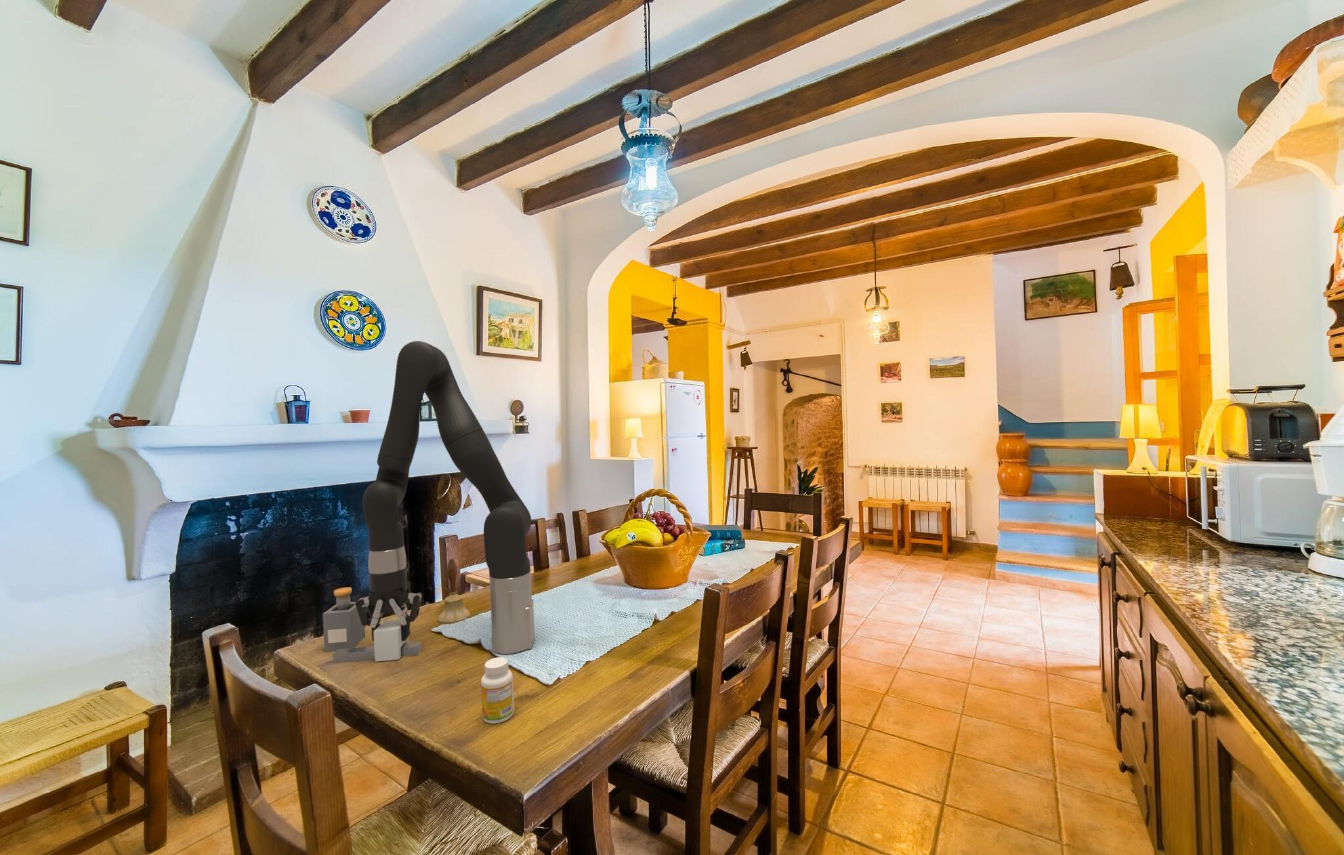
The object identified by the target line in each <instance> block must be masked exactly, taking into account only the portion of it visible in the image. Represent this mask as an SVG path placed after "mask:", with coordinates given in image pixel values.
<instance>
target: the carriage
mask: <svg viewBox="0 0 1344 855" xmlns="http://www.w3.org/2000/svg"><path fill="white" fill-rule="evenodd" d="M380 624H381V625H380V626H379V627H378V628H377V629H376V630H375V631H374V641H373V643H374V644H373V646H374V650H375V659H374V662H385V661H395V660H397V661H398V660H400V659H401V647H402V645H403V644H404V643H409V637H408V638H407V639H406V640H405V641H402V640H401V625H402V624H401V622H400V620H399V619H392V620H384V621H383V622H382V623H380Z"/></svg>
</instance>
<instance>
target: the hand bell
mask: <svg viewBox="0 0 1344 855" xmlns="http://www.w3.org/2000/svg"><path fill="white" fill-rule="evenodd" d="M446 575H447V578H448V581H449V595H448V596H447V597H445V598H444V604H443V608H442V611H441V613H440V614H439V615H438V616H437V622H439V623H443V624H451V623H452V624H453V623H457V622H461V621H465V620H466V619H468V618H470V616H471V612H470V610H468V609H467V608H466V606H465V604H464V599H463V596H462V595H460V594H458V592H457V589H458V588H457V577H458V566H457V563H456V560H455V558H449V559H448V564H447V567H446Z"/></svg>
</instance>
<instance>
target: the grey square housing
mask: <svg viewBox="0 0 1344 855" xmlns="http://www.w3.org/2000/svg"><path fill="white" fill-rule="evenodd" d="M355 602H356V601H350V606H351V608H350V609H349V610H338V611H337V603H336V604H334V605H333V606H331V607H330V608H329V609H328V610H326V611H325V612H323V613H322V625H323V628H322V629H323V643H324V644H323V645H324V647H323V648H324V653H326V652H336V651H337V650H338V649H348V648H356V646H357V645H358V644H360V642H361V641H362V640H364V638H366V626H363V625H362V624H361V620H360V617H359V614H358V611H357V608H356V604H355Z"/></svg>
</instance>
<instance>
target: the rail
mask: <svg viewBox="0 0 1344 855" xmlns="http://www.w3.org/2000/svg"><path fill="white" fill-rule="evenodd" d="M422 644H423V643H422V641H416V642H408V643H404V644H403V645H402V647H401V657H413V656H419V655H420V654H421V652H422V651H423V647H422V646H423V645H422ZM401 657H400V658H401ZM368 660H375V650H374V645H371V646H361V647H354V648H348V649H338V650H337V651H334V653H332V661H333V662H332V663H333V664H335V663H336V664H337V663H338V664H339V663H346V662H347V663H349V662H358V661H359V662H360V661H368Z"/></svg>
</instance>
